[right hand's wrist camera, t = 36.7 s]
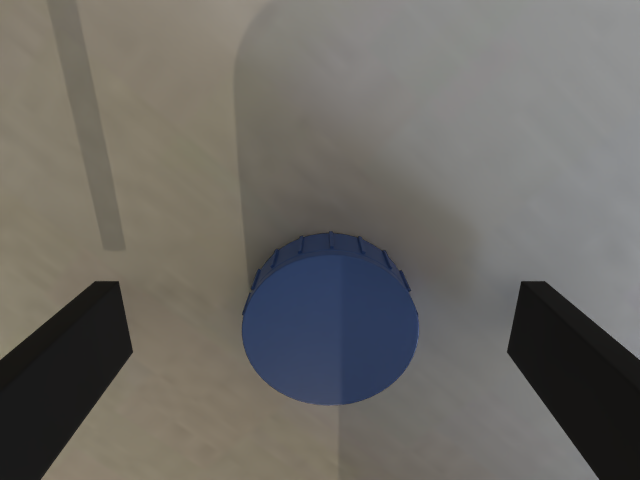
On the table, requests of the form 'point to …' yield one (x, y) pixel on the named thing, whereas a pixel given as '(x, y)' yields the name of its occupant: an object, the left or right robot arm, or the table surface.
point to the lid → (330, 320)
